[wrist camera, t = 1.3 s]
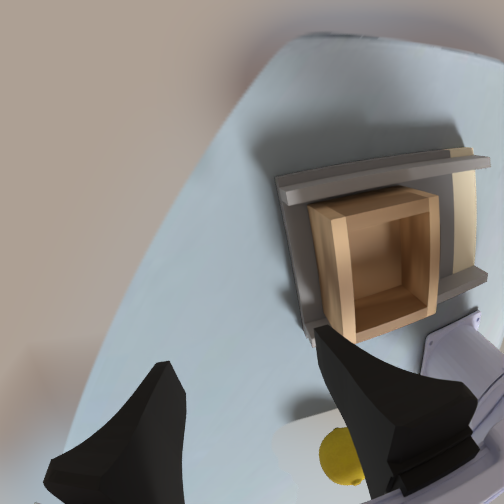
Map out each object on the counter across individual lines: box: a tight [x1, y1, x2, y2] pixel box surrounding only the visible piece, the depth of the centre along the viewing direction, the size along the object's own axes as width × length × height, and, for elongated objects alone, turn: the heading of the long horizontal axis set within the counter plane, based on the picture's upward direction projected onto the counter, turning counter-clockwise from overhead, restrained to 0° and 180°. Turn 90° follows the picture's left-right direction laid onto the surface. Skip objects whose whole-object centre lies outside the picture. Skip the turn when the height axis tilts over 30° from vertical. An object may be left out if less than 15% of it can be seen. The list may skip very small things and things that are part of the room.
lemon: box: [319, 427, 365, 486], centre depth 24 cm, size 6×6×8 cm
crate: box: [307, 185, 441, 344], centre depth 18 cm, size 8×8×4 cm
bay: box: [274, 147, 491, 348], centre depth 19 cm, size 12×17×3 cm
